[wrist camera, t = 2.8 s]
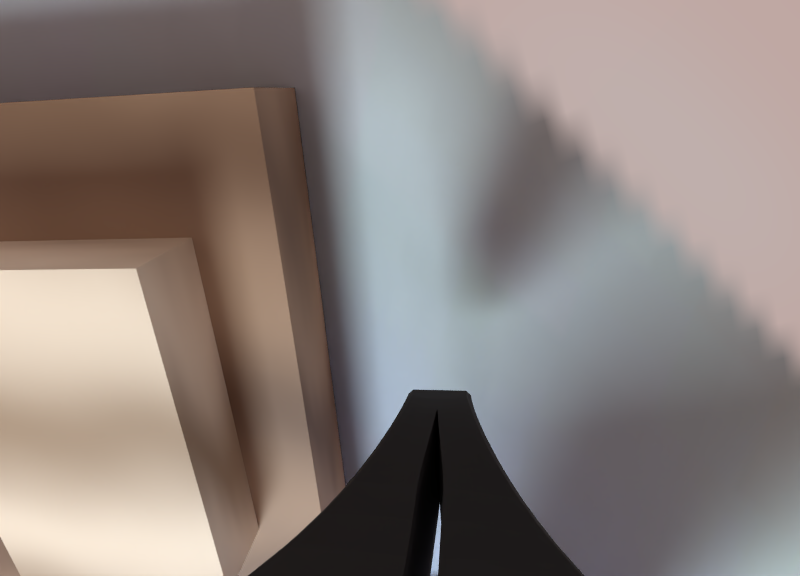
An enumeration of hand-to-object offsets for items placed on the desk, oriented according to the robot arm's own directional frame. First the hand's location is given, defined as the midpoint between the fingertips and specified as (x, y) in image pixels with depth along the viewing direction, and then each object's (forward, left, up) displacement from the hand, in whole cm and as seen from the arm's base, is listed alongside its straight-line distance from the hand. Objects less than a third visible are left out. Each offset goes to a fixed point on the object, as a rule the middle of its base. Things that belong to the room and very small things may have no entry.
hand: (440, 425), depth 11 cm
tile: (0, +8, -1) cm, 9 cm away
